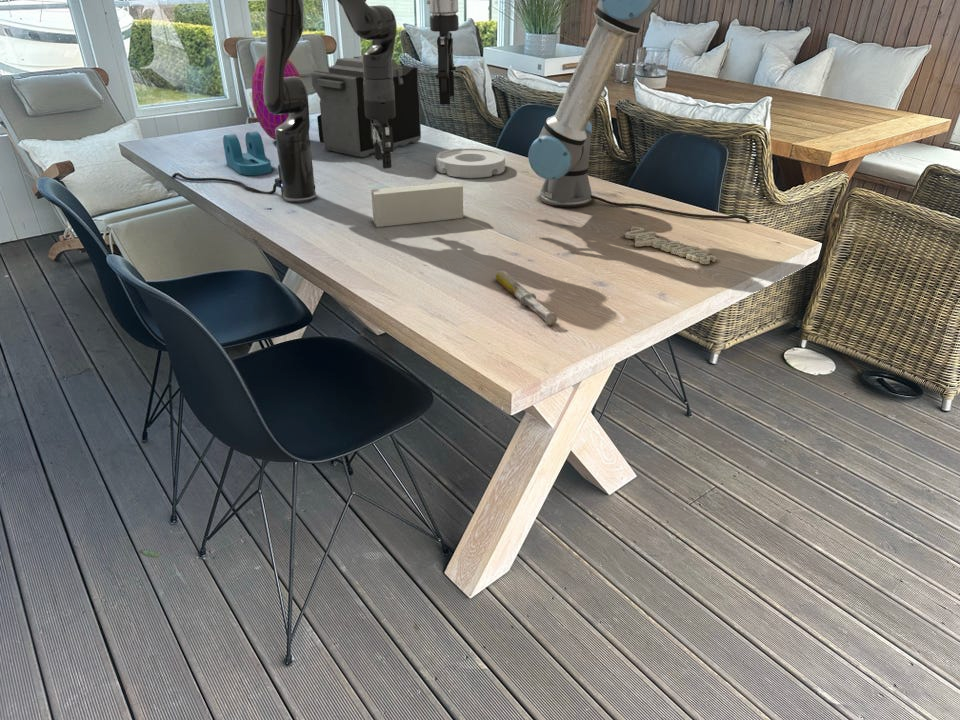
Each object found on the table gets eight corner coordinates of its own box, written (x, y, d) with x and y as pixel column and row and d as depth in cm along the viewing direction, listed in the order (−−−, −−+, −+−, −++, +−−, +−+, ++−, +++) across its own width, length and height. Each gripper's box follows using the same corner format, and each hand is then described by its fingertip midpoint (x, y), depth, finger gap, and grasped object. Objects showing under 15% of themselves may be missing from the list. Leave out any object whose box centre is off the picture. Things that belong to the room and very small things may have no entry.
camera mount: (227, 164, 233) (221, 132, 227) (257, 160, 238) (252, 129, 233) (244, 176, 220) (239, 143, 215) (276, 172, 225) (271, 139, 220)
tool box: (383, 133, 276) (378, 52, 261) (425, 141, 265) (422, 56, 250) (314, 150, 251) (304, 61, 235) (358, 160, 240) (350, 67, 224)
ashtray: (439, 158, 242) (439, 147, 240) (504, 160, 242) (505, 148, 240) (433, 177, 222) (433, 164, 220) (504, 178, 222) (505, 166, 220)
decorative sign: (611, 234, 176) (635, 225, 181) (610, 237, 176) (634, 229, 182) (700, 264, 159) (723, 254, 164) (699, 268, 159) (723, 257, 165)
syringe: (491, 278, 153) (492, 266, 152) (507, 275, 154) (507, 264, 153) (540, 327, 133) (541, 315, 132) (557, 324, 134) (558, 312, 133)
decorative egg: (293, 132, 276) (283, 50, 261) (319, 140, 264) (310, 56, 249) (249, 139, 265) (236, 54, 250) (273, 148, 253) (261, 60, 238)
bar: (458, 212, 192) (457, 181, 188) (463, 217, 189) (463, 186, 184) (373, 221, 185) (371, 189, 181) (377, 227, 182) (374, 194, 177)
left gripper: (358, 93, 173) (363, 158, 181) (370, 103, 161) (375, 172, 169) (387, 91, 175) (391, 156, 183) (401, 101, 163) (404, 169, 172)
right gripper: (434, 11, 190) (438, 92, 201) (423, 17, 169) (428, 108, 179) (461, 11, 190) (463, 92, 200) (454, 16, 168) (457, 107, 179)
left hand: (383, 163), depth 176 cm, fingers open, 8 cm apart
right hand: (447, 100), depth 190 cm, fingers open, 13 cm apart
